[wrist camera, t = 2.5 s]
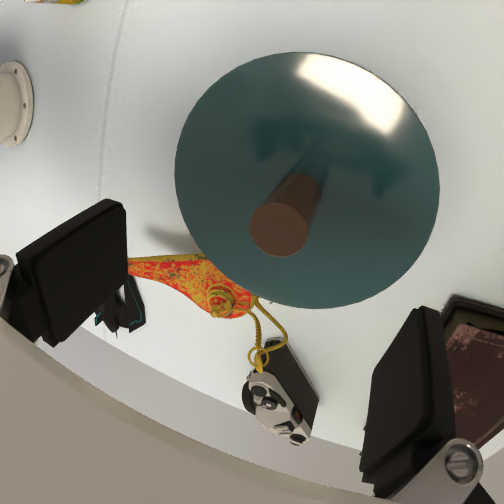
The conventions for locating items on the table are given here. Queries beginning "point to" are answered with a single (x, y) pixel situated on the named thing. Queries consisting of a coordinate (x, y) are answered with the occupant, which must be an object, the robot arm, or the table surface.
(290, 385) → the camera
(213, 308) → the magic lamp
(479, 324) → the diary
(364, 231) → the lid
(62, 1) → the supplement bottle
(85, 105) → the table surface
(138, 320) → the angular spaceship
